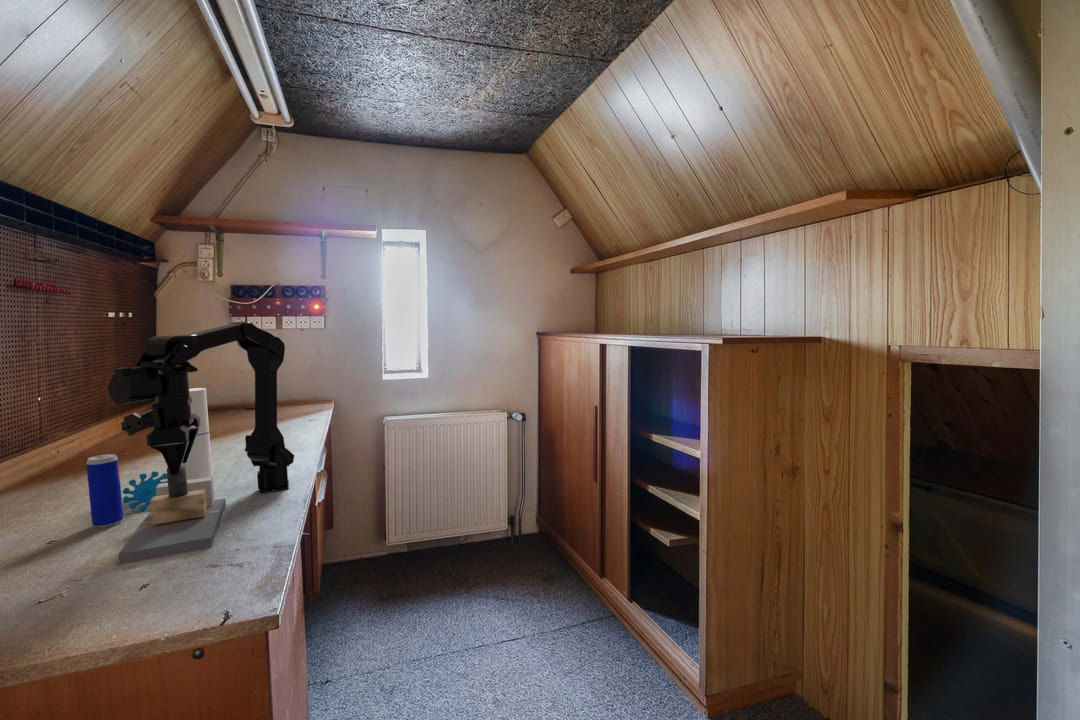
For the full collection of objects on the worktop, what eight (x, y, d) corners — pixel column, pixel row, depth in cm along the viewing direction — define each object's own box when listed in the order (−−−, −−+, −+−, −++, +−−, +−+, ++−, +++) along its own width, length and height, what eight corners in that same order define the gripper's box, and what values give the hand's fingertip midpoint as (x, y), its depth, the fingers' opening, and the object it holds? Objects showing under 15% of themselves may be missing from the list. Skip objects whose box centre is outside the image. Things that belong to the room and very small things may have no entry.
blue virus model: (114, 508, 112) (129, 469, 119) (120, 520, 116) (135, 481, 123) (172, 508, 116) (184, 470, 123) (176, 518, 120) (188, 481, 127)
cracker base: (226, 506, 117) (223, 473, 116) (211, 547, 95) (208, 507, 95) (152, 518, 111) (149, 483, 110) (119, 564, 89) (115, 521, 89)
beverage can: (129, 520, 109) (123, 454, 108) (102, 530, 105) (95, 460, 103) (114, 517, 111) (107, 452, 110) (86, 527, 106) (80, 459, 105)
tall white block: (189, 482, 135) (181, 392, 133) (177, 478, 139) (170, 390, 137) (217, 475, 141) (210, 388, 139) (205, 471, 145) (198, 387, 143)
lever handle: (206, 511, 108) (203, 462, 107) (204, 516, 105) (200, 465, 104) (155, 519, 104) (151, 468, 103) (151, 525, 101) (147, 472, 100)
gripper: (136, 393, 108) (143, 463, 109) (108, 406, 91) (116, 488, 92) (198, 389, 113) (203, 455, 114) (182, 400, 96) (188, 478, 97)
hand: (179, 468), depth 104 cm, fingers open, 9 cm apart
